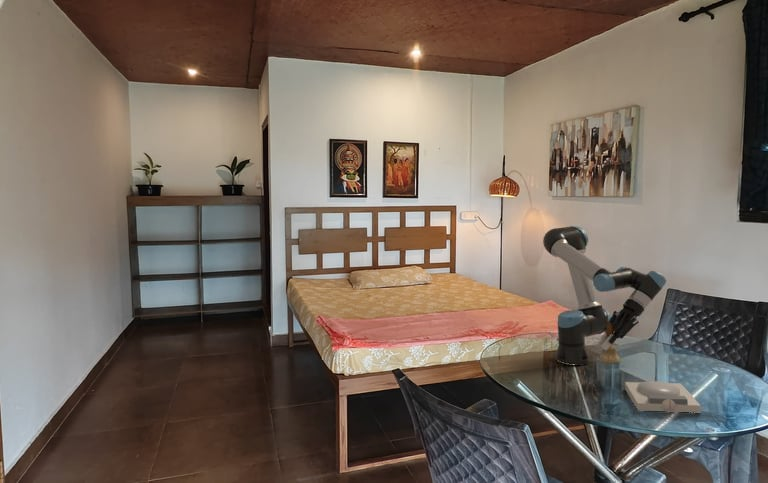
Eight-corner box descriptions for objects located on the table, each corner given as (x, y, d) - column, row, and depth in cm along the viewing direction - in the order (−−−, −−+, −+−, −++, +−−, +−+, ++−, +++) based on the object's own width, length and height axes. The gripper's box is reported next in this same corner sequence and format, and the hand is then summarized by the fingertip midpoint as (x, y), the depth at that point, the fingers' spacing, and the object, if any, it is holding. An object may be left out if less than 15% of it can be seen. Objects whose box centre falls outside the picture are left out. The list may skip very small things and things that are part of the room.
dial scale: (638, 411, 173) (637, 398, 172) (625, 389, 193) (624, 377, 192) (701, 414, 168) (700, 400, 167) (681, 390, 187) (680, 378, 187)
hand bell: (614, 364, 194) (614, 326, 192) (595, 359, 200) (594, 322, 199) (624, 358, 199) (624, 321, 197) (604, 354, 206) (604, 318, 204)
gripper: (655, 313, 193) (619, 358, 191) (629, 305, 208) (596, 347, 206) (643, 302, 191) (607, 347, 190) (618, 294, 206) (584, 336, 205)
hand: (601, 347), depth 198 cm, fingers closed on hand bell, 2 cm apart
